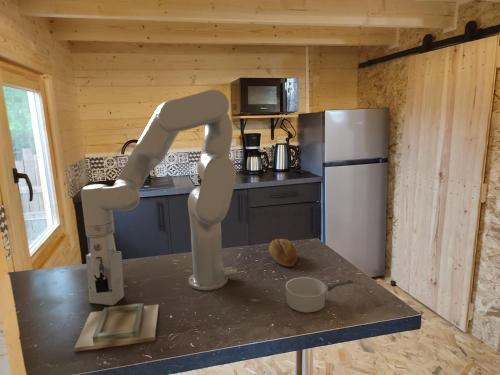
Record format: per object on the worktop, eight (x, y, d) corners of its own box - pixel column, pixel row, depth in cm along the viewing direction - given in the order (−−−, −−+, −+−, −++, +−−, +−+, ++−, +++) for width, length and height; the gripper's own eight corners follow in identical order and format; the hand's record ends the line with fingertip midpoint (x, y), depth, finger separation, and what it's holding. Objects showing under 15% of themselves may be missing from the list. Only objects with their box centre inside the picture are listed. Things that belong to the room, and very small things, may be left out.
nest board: (158, 307, 97) (158, 299, 97) (154, 340, 83) (153, 331, 82) (91, 315, 94) (90, 307, 93) (74, 351, 80) (73, 342, 79)
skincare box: (89, 303, 100) (83, 255, 97) (102, 293, 106) (96, 247, 103) (114, 306, 98) (109, 257, 95) (126, 295, 104) (121, 249, 101)
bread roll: (277, 271, 118) (277, 249, 117) (263, 255, 133) (263, 235, 131) (303, 267, 121) (303, 246, 119) (287, 251, 135) (287, 232, 134)
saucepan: (361, 308, 95) (362, 290, 94) (293, 318, 91) (293, 299, 90) (342, 288, 106) (342, 271, 105) (280, 296, 102) (280, 279, 101)
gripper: (107, 237, 90) (114, 297, 93) (119, 218, 106) (124, 269, 110) (76, 239, 88) (84, 300, 92) (93, 220, 105) (99, 272, 108)
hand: (106, 283), depth 101 cm, fingers open, 9 cm apart
